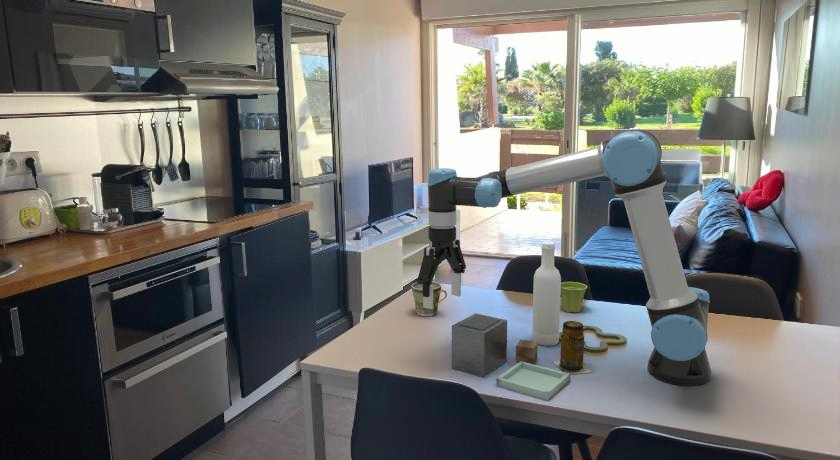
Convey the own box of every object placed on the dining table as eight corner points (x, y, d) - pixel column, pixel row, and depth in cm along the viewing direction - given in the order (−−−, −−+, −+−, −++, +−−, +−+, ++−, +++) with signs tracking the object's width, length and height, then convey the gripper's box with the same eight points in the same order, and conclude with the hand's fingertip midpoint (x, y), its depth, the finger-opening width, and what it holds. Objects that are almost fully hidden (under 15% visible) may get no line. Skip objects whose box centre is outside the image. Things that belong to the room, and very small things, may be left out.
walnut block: (537, 358, 173) (537, 341, 172) (533, 365, 169) (534, 348, 168) (519, 356, 175) (520, 339, 174) (515, 363, 171) (515, 345, 170)
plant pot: (568, 303, 219) (568, 280, 218) (591, 310, 213) (592, 285, 211) (552, 310, 213) (552, 285, 212) (575, 316, 206) (576, 291, 205)
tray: (569, 381, 159) (570, 374, 158) (547, 400, 149) (547, 393, 148) (520, 368, 167) (520, 361, 167) (496, 385, 157) (496, 378, 156)
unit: (506, 361, 171) (507, 319, 169) (484, 377, 162) (484, 332, 159) (474, 353, 177) (474, 312, 175) (450, 367, 168) (450, 324, 165)
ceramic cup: (406, 315, 210) (405, 286, 208) (422, 307, 218) (422, 279, 216) (438, 322, 203) (438, 292, 201) (454, 313, 211) (454, 285, 209)
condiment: (577, 359, 172) (579, 318, 170) (592, 372, 164) (594, 329, 162) (552, 362, 171) (554, 320, 168) (566, 375, 162) (568, 331, 160)
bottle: (536, 334, 191) (538, 238, 185) (561, 338, 187) (565, 240, 181) (528, 343, 184) (531, 244, 178) (555, 347, 180) (558, 246, 174)
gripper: (456, 217, 181) (456, 288, 185) (402, 232, 161) (404, 310, 166) (478, 220, 177) (477, 292, 181) (426, 235, 157) (427, 316, 161)
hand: (442, 301), depth 173 cm, fingers open, 13 cm apart
